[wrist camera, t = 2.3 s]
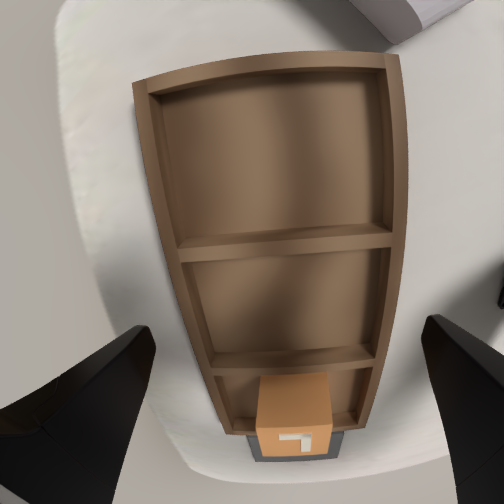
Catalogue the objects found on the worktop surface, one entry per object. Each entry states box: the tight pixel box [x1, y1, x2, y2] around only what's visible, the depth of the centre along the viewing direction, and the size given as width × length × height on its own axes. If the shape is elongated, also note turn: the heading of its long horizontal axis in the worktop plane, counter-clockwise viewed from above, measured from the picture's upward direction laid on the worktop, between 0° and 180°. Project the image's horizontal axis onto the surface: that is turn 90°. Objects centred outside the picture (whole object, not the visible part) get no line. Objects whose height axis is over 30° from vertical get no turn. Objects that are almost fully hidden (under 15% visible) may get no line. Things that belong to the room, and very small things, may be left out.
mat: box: [248, 431, 344, 462], centre depth 27 cm, size 10×7×1 cm
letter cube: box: [255, 372, 333, 456], centre depth 19 cm, size 5×5×5 cm
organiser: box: [132, 51, 408, 435], centre depth 17 cm, size 13×28×2 cm, turn 7°
